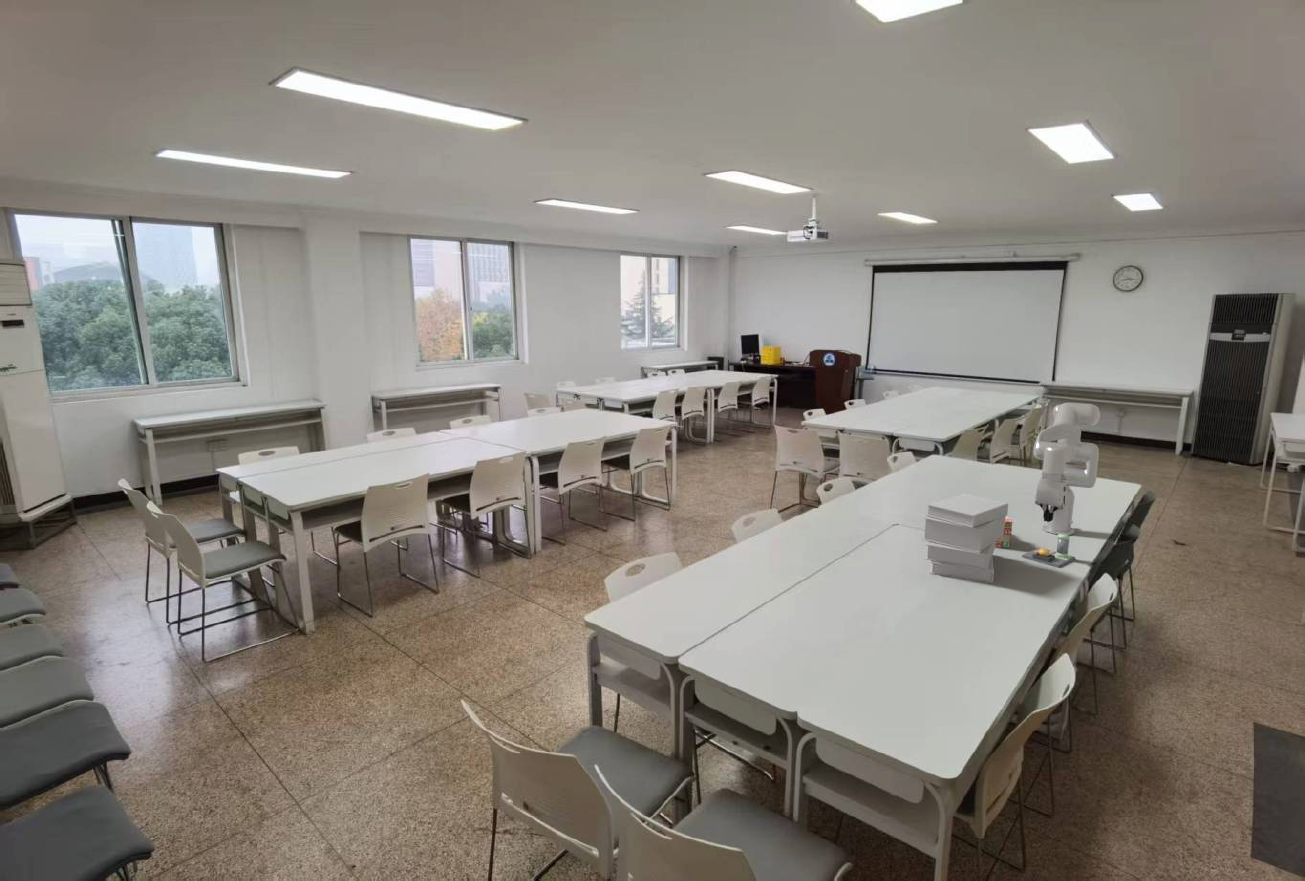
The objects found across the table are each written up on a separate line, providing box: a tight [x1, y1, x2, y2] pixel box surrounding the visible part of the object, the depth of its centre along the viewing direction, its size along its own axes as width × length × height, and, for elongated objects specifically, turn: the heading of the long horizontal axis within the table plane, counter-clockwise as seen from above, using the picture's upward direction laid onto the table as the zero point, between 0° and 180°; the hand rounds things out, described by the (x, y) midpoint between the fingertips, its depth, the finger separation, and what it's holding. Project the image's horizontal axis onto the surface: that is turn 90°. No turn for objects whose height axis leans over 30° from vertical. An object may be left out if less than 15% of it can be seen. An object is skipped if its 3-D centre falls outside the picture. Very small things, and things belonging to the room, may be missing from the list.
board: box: [1021, 547, 1076, 568], centre depth 270 cm, size 15×14×2 cm
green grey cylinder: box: [1055, 534, 1071, 558], centre depth 269 cm, size 4×4×9 cm
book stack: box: [921, 493, 1009, 584], centre depth 263 cm, size 30×35×26 cm
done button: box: [1039, 548, 1050, 557], centre depth 267 cm, size 4×4×2 cm
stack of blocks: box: [995, 515, 1014, 549], centre depth 292 cm, size 21×6×12 cm, turn 171°
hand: (1047, 520), depth 264 cm, fingers closed
